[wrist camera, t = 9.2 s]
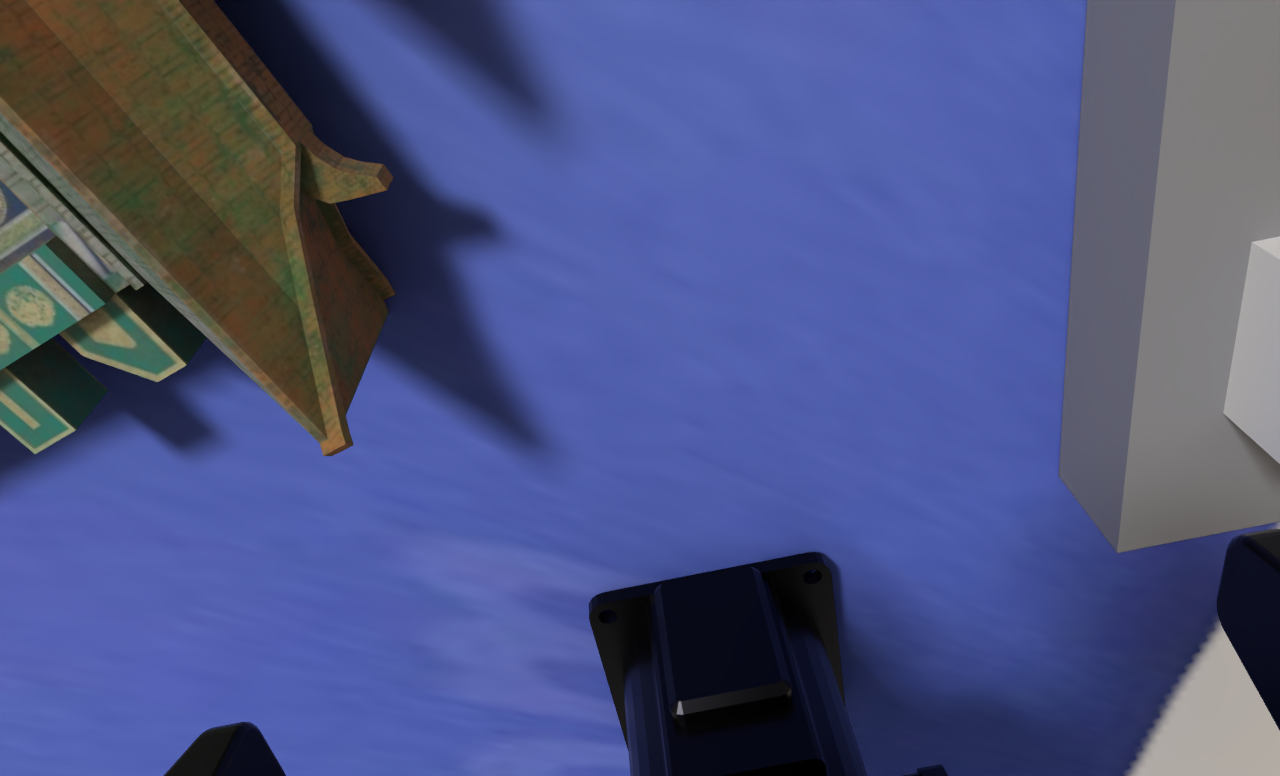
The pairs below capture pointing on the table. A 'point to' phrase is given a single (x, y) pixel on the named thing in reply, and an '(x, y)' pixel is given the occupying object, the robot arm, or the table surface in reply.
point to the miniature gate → (170, 217)
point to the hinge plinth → (1176, 272)
